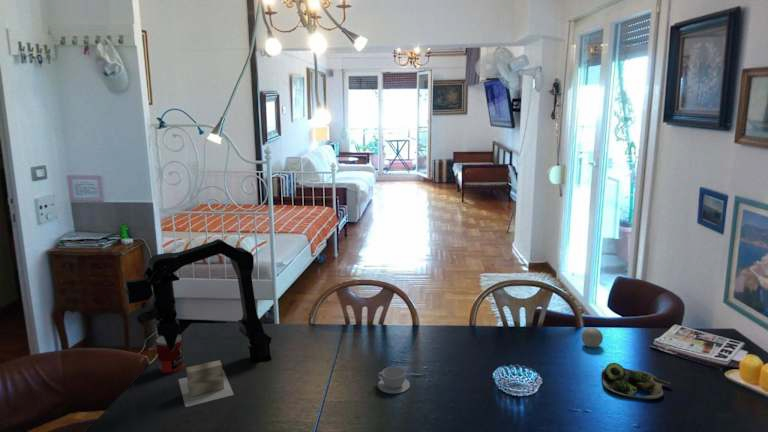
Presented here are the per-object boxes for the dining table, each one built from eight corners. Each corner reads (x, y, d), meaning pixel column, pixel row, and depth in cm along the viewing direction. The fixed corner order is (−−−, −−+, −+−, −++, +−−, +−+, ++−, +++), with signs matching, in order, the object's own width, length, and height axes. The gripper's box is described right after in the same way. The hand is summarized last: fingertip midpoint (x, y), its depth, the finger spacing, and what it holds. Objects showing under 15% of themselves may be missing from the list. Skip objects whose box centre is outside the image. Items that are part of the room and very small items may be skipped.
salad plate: (665, 376, 172) (666, 362, 171) (676, 406, 155) (678, 392, 154) (599, 368, 177) (600, 355, 176) (603, 397, 161) (604, 383, 160)
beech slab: (222, 383, 172) (219, 360, 171) (224, 389, 169) (221, 364, 168) (188, 392, 168) (186, 367, 166) (190, 397, 165) (187, 372, 163)
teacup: (413, 380, 172) (413, 367, 171) (404, 397, 163) (404, 382, 162) (383, 376, 176) (383, 362, 175) (373, 391, 167) (372, 377, 166)
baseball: (606, 346, 191) (608, 328, 190) (593, 352, 187) (595, 334, 186) (590, 339, 197) (591, 322, 195) (577, 345, 193) (578, 327, 191)
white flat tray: (223, 369, 182) (222, 368, 182) (234, 395, 166) (233, 394, 166) (178, 380, 176) (178, 379, 176) (185, 408, 160) (185, 407, 160)
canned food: (176, 375, 179) (172, 344, 177) (154, 373, 181) (150, 342, 178) (189, 364, 186) (185, 334, 184) (168, 362, 188) (164, 332, 185)
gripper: (134, 291, 172) (140, 337, 175) (135, 311, 155) (142, 362, 159) (172, 285, 176) (177, 330, 180) (177, 304, 160) (183, 353, 163)
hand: (169, 343), depth 170 cm, fingers open, 9 cm apart
